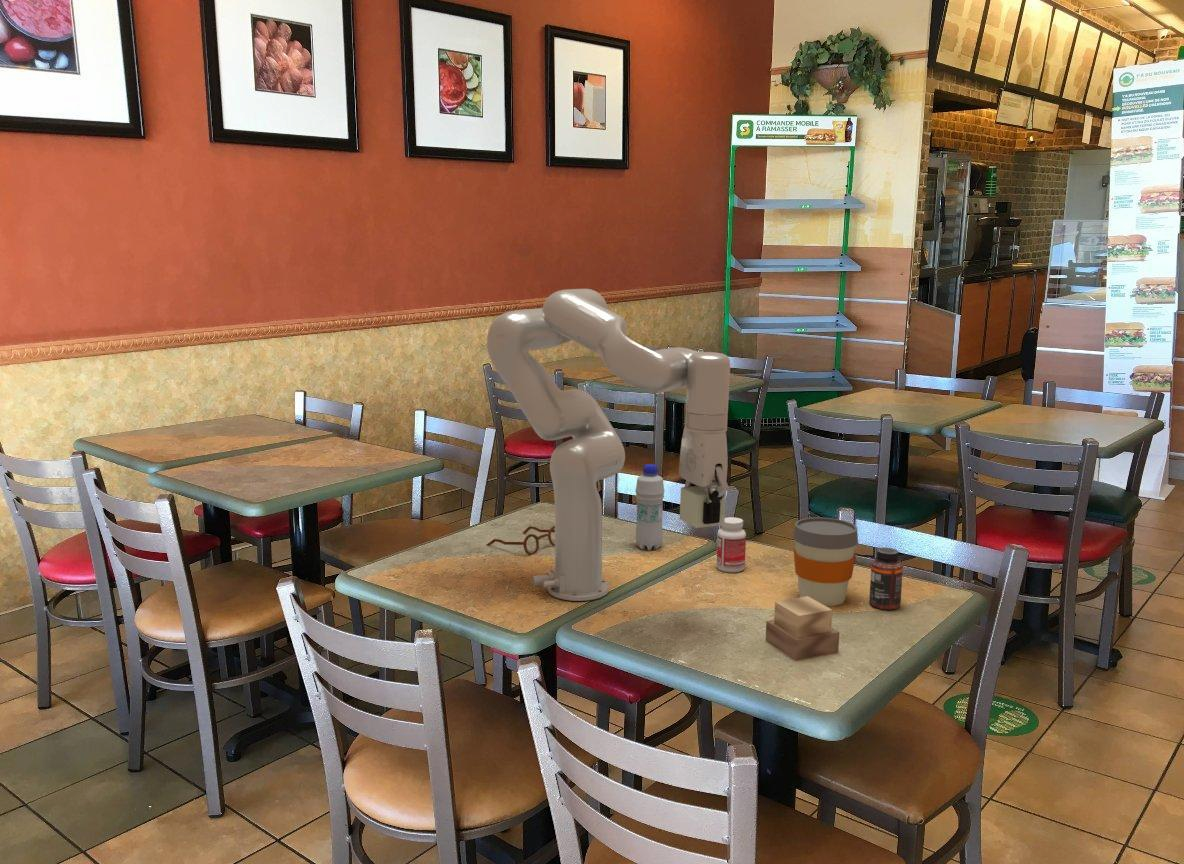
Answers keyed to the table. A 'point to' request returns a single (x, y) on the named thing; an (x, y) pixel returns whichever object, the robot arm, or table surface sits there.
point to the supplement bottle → (886, 579)
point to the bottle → (649, 508)
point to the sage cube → (697, 506)
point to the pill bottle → (731, 546)
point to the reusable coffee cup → (824, 558)
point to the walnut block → (801, 642)
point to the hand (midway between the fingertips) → (701, 516)
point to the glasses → (528, 538)
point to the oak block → (803, 616)
